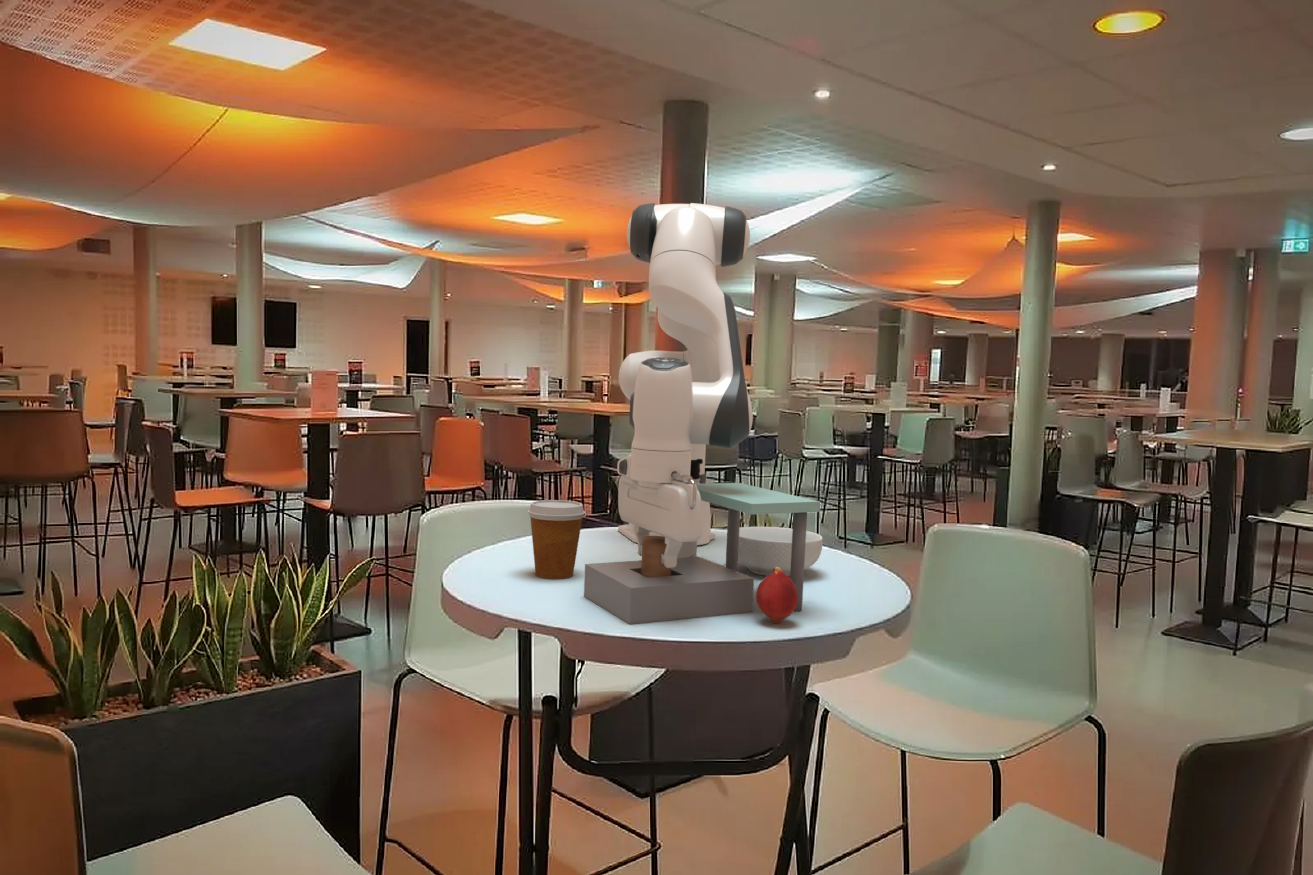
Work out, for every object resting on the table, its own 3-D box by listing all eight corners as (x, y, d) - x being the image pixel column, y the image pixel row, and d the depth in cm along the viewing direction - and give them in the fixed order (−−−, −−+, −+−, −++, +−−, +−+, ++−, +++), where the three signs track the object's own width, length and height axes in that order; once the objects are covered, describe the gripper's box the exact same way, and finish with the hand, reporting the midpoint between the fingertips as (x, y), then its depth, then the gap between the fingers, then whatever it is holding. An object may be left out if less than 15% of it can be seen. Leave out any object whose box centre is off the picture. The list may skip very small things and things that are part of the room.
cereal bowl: (840, 576, 159) (842, 536, 159) (776, 587, 148) (778, 545, 148) (769, 558, 172) (771, 522, 172) (706, 567, 161) (708, 528, 161)
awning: (672, 584, 147) (676, 484, 146) (734, 579, 153) (739, 482, 152) (746, 618, 128) (752, 503, 127) (814, 611, 134) (820, 501, 132)
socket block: (583, 596, 137) (585, 564, 137) (697, 586, 146) (698, 556, 146) (629, 624, 123) (631, 588, 122) (752, 611, 132) (753, 578, 132)
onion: (774, 615, 131) (776, 560, 130) (805, 624, 126) (808, 568, 126) (746, 621, 127) (749, 565, 126) (777, 630, 123) (780, 573, 122)
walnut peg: (634, 602, 135) (637, 536, 134) (660, 600, 137) (663, 535, 136) (648, 610, 131) (650, 542, 130) (674, 607, 133) (677, 540, 132)
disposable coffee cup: (527, 581, 145) (529, 507, 144) (524, 568, 154) (526, 499, 154) (586, 581, 147) (588, 508, 146) (579, 568, 156) (582, 500, 155)
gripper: (715, 476, 124) (710, 575, 125) (648, 460, 142) (644, 547, 143) (675, 477, 121) (671, 578, 122) (612, 461, 140) (608, 549, 141)
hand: (656, 561), depth 133 cm, fingers open, 6 cm apart
